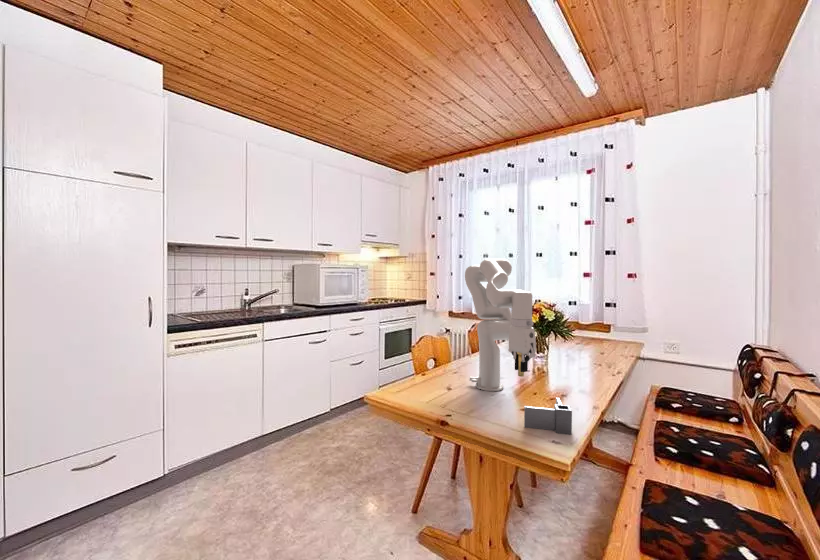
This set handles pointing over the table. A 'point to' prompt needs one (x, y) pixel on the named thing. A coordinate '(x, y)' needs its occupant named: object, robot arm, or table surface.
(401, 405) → the table surface
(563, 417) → the hinge bracket
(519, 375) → the hinge pin
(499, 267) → the robot arm
